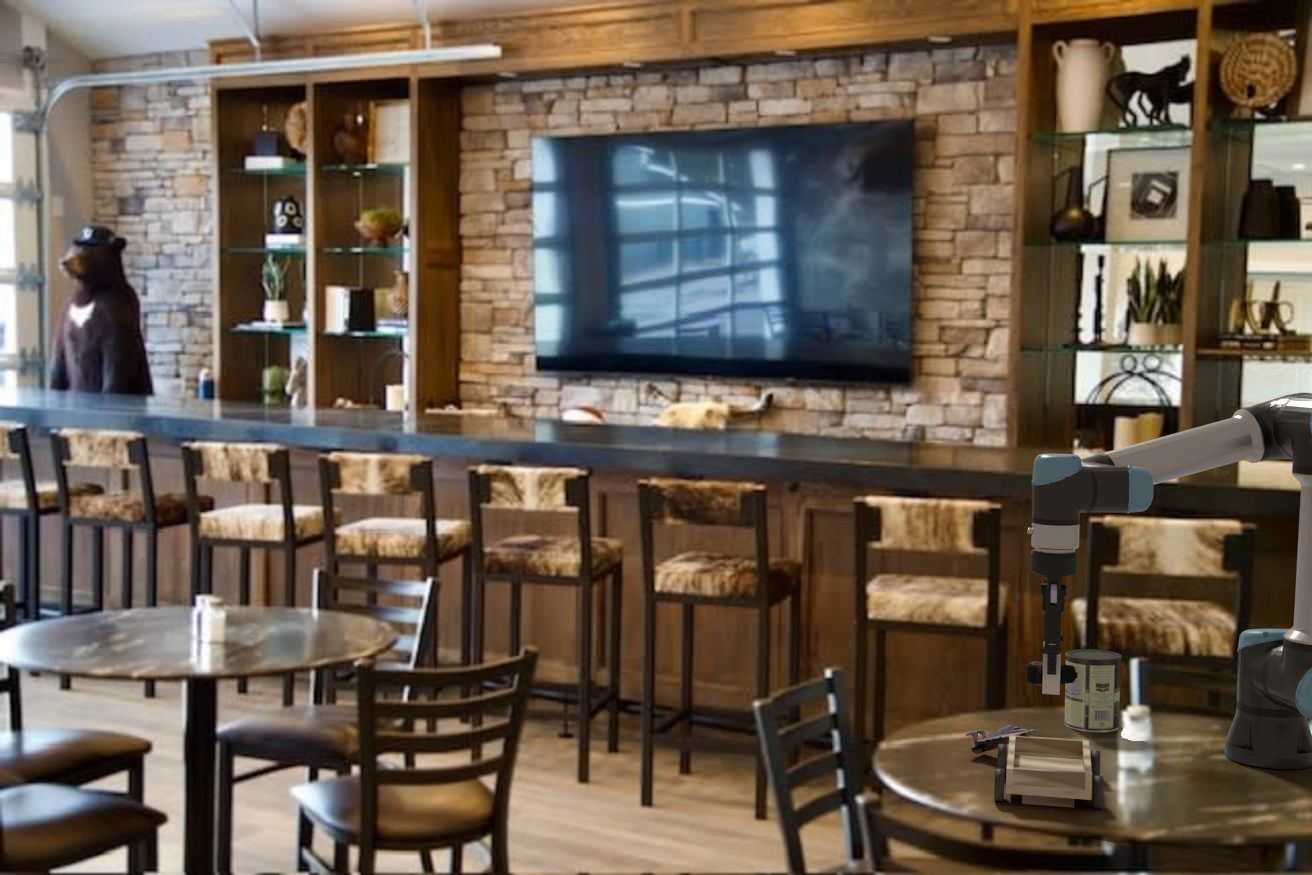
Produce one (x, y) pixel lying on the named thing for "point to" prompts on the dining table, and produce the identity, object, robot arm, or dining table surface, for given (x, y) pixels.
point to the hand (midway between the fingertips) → (1050, 687)
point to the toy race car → (997, 738)
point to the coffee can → (1093, 691)
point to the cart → (1049, 771)
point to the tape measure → (1036, 673)
